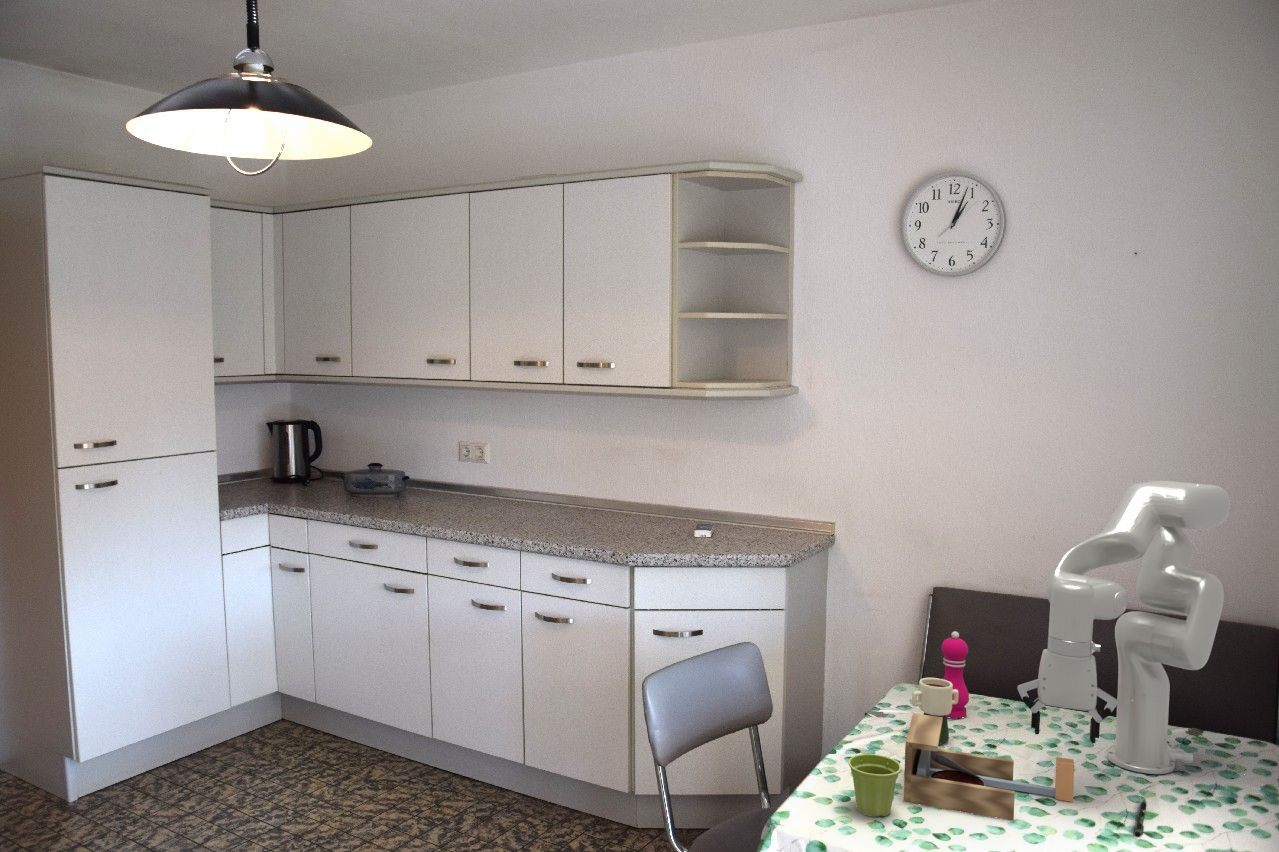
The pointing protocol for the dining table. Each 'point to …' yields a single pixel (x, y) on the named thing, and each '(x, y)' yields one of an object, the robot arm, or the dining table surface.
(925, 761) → the pull rod
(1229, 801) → the dining table surface
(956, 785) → the shelf lane
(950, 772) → the canned food
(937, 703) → the character mug
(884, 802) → the plant pot
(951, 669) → the pepper mill
